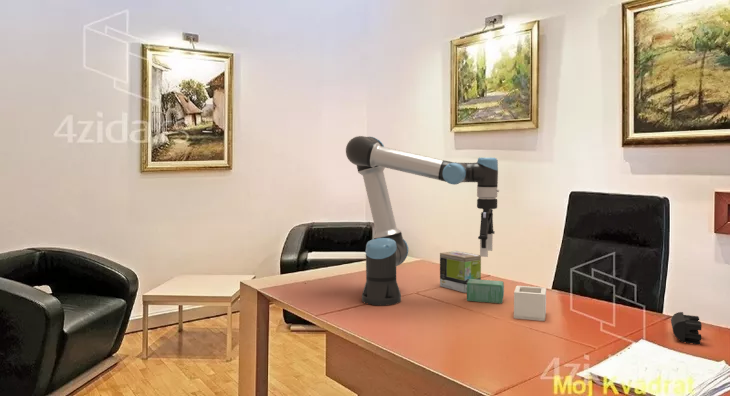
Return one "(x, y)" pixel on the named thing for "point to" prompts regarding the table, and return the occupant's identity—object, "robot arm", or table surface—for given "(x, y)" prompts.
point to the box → (485, 291)
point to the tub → (530, 303)
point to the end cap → (686, 328)
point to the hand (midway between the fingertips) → (486, 253)
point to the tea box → (459, 269)
